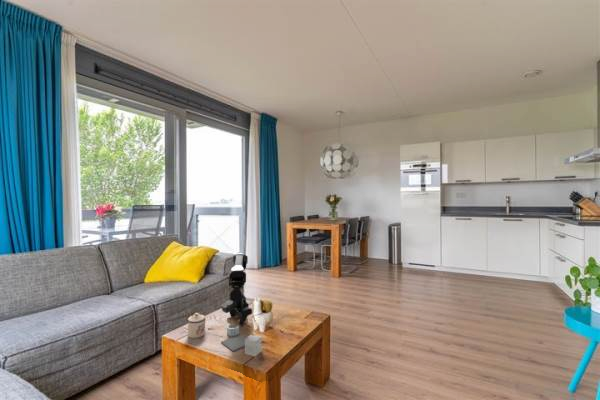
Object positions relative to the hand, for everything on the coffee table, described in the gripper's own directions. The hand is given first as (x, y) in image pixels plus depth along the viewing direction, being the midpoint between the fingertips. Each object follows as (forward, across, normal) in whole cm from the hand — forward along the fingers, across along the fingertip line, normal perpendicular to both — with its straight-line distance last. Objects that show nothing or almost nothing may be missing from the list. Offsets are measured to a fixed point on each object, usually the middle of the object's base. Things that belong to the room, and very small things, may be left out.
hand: (237, 324), depth 150 cm
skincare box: (+10, +13, +1) cm, 17 cm away
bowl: (+10, -11, +4) cm, 15 cm away
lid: (-1, 0, 0) cm, 1 cm away
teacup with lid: (+10, -24, -10) cm, 28 cm away
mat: (+10, 0, 0) cm, 10 cm away
